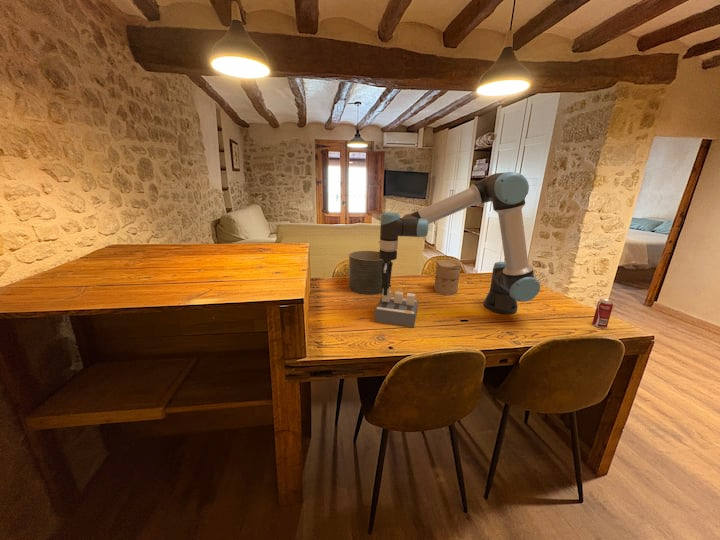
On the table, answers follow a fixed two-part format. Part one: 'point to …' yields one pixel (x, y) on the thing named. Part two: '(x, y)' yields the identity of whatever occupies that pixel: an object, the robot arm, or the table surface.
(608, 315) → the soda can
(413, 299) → the slider right
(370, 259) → the planter
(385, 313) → the switch bank
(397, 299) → the slider mid
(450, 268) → the container
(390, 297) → the block
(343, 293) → the table surface
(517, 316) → the table surface
